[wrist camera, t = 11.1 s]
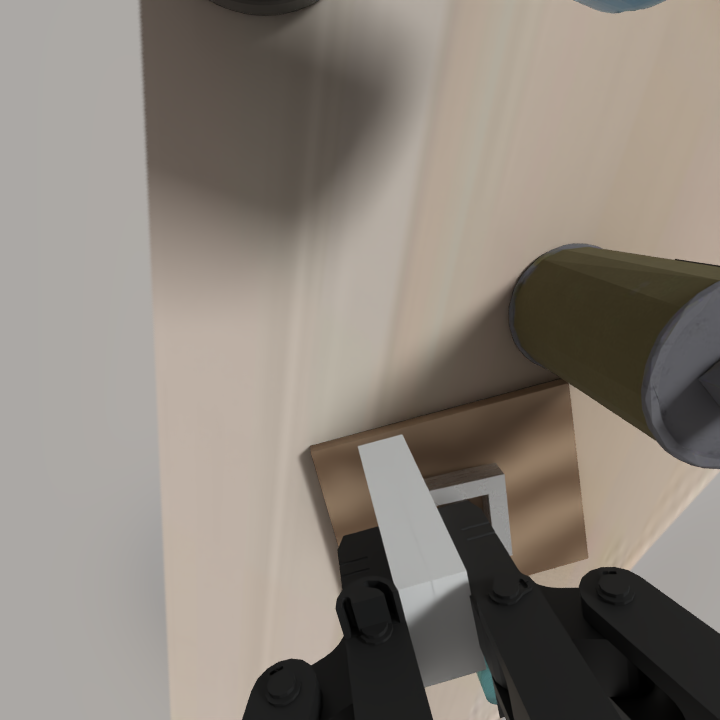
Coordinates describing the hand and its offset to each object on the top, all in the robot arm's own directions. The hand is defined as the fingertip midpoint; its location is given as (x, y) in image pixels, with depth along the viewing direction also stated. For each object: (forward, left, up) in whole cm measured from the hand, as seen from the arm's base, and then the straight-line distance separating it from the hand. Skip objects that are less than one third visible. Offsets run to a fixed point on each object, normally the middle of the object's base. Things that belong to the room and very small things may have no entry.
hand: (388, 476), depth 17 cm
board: (+19, +7, -24) cm, 32 cm away
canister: (+4, +19, -25) cm, 31 cm away
